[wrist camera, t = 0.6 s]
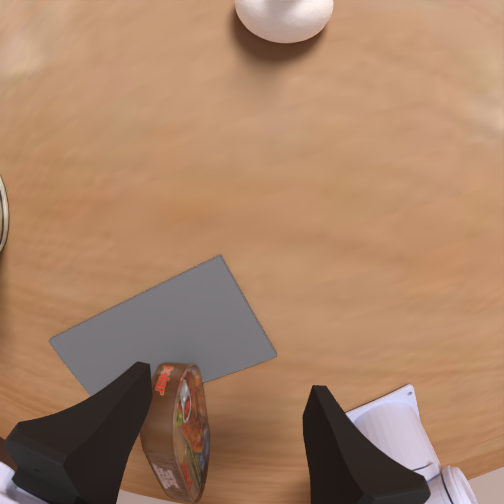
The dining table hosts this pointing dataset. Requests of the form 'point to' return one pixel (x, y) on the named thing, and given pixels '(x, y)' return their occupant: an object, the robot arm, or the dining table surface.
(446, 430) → the dining table surface
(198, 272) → the mat
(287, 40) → the garlic bulb
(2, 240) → the coffee can
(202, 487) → the tin
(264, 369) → the dining table surface
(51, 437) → the robot arm
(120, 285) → the dining table surface
